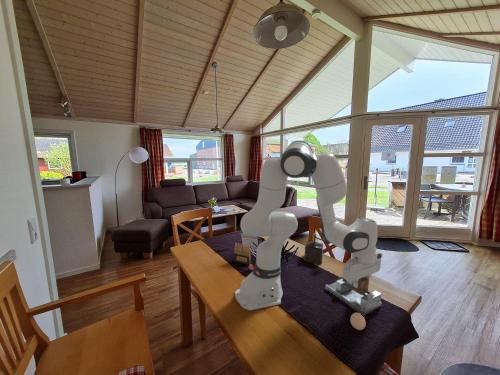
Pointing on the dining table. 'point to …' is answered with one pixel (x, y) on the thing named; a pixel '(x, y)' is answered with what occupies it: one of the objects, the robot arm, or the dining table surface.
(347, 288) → the free jaw
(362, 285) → the block
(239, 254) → the ammunition clip
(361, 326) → the egg
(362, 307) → the vise
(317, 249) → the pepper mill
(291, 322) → the dining table surface
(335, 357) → the dining table surface
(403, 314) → the dining table surface
